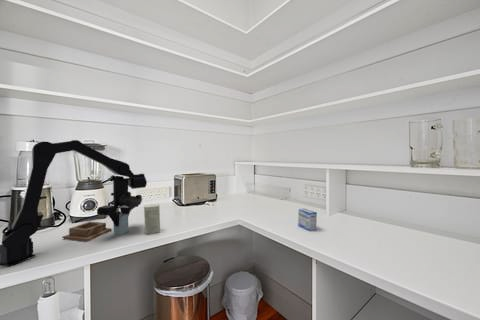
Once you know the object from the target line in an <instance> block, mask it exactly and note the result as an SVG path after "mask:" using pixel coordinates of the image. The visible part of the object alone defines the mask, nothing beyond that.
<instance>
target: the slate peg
mask: <svg viewBox="0 0 480 320" xmlns="http://www.w3.org/2000/svg"><path fill="white" fill-rule="evenodd" d="M128 232H129V216H128V214H120V215H119V226H118V227H116V226H115V224H114V223H113V235H117V236H118V235H119V236H121V235H124V234H126V233H128Z"/></svg>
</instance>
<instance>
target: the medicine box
mask: <svg viewBox="0 0 480 320" xmlns="http://www.w3.org/2000/svg"><path fill="white" fill-rule="evenodd" d="M297 214H298V216H297V217H298V218H297V227H299V228H301V229H303V230H307V231H308V232H312V231H317V222H318V221H317V218H318V217H317V216H318V215H317V214H318V212H316V211H314V210H310V209H308V208H305V207H304V208H302V207H301V208H299V209H298V213H297Z"/></svg>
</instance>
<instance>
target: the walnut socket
mask: <svg viewBox="0 0 480 320" xmlns="http://www.w3.org/2000/svg"><path fill="white" fill-rule="evenodd" d="M111 231H113V230H112V228H107V223H106V222H102V221H101V222H100V221H99V222H98V221H88V222H84V223H81V224H78V225H76V226H72V227H69V228H68V234H66V235H63V236H62V238H64V239H63V240H65V239H69V240H68V241H74V240H76V242H82V241H83V242H84V243H87V242H89V241H91V240H94V239H96V238H98V237H100V236H103V235H106V234H108V233H109V232H111Z"/></svg>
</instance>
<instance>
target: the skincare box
mask: <svg viewBox="0 0 480 320" xmlns="http://www.w3.org/2000/svg"><path fill="white" fill-rule="evenodd" d="M143 209H144V210H143V213H144V235H149V234H157V233H160V232H161V219H160V217H161V215H160V214H161V213H160V211H161V210H160V203H156V204H144V207H143Z"/></svg>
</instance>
